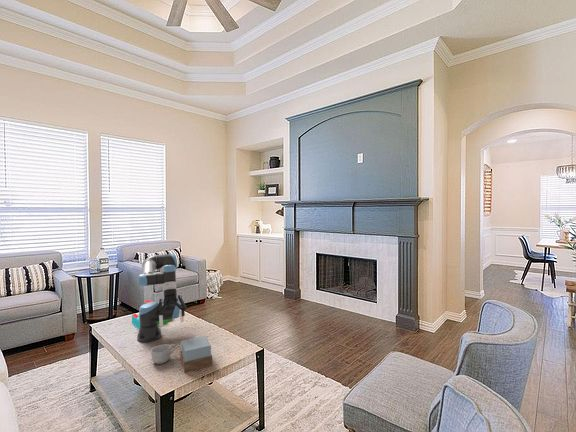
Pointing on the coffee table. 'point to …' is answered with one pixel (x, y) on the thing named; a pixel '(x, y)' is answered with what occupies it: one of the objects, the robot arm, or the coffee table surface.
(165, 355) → the teacup
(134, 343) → the coffee table surface
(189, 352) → the top block
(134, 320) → the building blocks toy
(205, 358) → the base block
